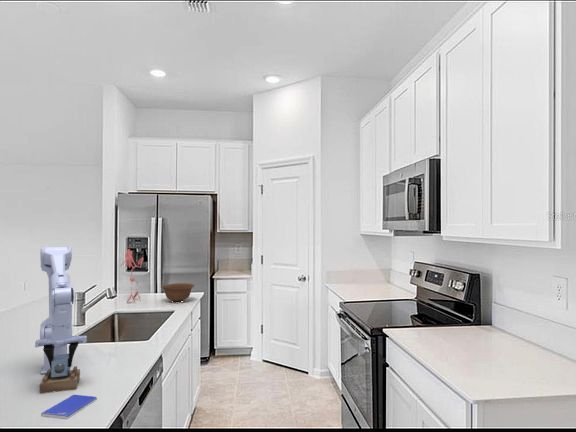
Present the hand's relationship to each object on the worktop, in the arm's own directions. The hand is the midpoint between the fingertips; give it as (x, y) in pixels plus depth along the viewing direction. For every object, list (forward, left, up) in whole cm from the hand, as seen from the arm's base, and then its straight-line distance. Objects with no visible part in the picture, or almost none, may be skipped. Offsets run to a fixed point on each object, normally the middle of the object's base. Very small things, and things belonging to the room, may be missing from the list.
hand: (61, 367), depth 134 cm
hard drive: (+19, +5, -7) cm, 21 cm away
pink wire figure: (-144, +20, -6) cm, 146 cm away
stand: (0, 0, -6) cm, 6 cm away
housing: (0, 0, -2) cm, 2 cm away
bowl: (-133, +51, -6) cm, 142 cm away
